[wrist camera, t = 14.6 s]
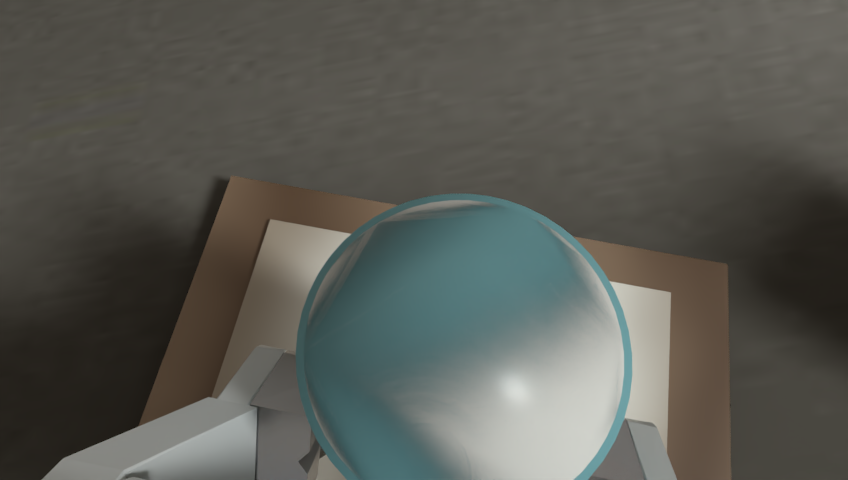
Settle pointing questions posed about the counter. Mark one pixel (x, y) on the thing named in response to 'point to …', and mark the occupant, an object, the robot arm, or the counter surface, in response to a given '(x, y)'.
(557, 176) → the counter surface
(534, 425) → the white bottle teal cap
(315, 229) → the writing board
